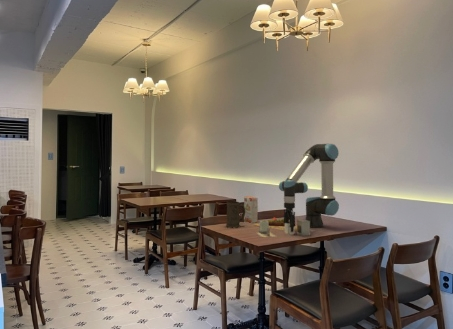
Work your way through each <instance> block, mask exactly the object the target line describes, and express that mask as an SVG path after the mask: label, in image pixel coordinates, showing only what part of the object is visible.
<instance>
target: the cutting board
mask: <svg viewBox="0 0 453 329" xmlns="http://www.w3.org/2000/svg"><path fill="white" fill-rule="evenodd" d="M267 221H268V222H269V228H272V229H276V230H280V231H285V223H284V218H281V219H280V218H278V219H277V218H276V217H275V216H273V218H272V219H267ZM289 223H290V221H289ZM253 226H254V227H257V226H258V227H257V228H259V223H258V222H257V223H253ZM294 232H297V224H295V226H294Z"/></svg>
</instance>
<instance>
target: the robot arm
mask: <svg viewBox="0 0 453 329" xmlns="http://www.w3.org/2000/svg"><path fill="white" fill-rule="evenodd" d="M338 156H339V149H338V147H337V146H336V144H334V143H317V144H314V145H312V146H311V147H309V148H308V149H307V150H306V151H305V153H304V154H303V157H302V158H301V160H300V161H299V162H298V164H297V165H296V166H295V167H294V169H293V170H292V172H290V174H289V175H288V176H287V178H286V179H285V180H283V181H280V182H279V183H278V184H279V185H278V188H279V190H280V191H281V192H283V202H284V203H283V208H284V209H283V219H284V223H289V222H290V226H289V227H290V234H289V235H291V236H292V235H294V234H295V231H294V226H295V225H296V217H295V216H296V212H295V211H294V209H295V208H296V194H304V193H307V191H308V189H309V186H308V184H307V183H306V182H302V181H301V182H298V181H299V179H300V178H301V177H302V176H303V175H304V174H305V173H306V171H307V170H308V168H309V167H310V166H311V164H313V163H314V162H315V161H317V160H318V161H319V163H320V164H321V165H320V166H321V167H320V168H321V170H320V172H321V195H320V196H311V197H310V196H309V197H307V198H306V199H305V218H304V219H305V220H308V221H310V229H311V228H312V229H313V228H315V229H317V228H323V227H324V220H323V218H322V215H325V216H329V217H330V216H335V215H336V214H337V213H338V211H339V209H340V208H339V207H340V206H339V202H338V201H337V200H336V197H335V195H334V163H336V159H338Z"/></svg>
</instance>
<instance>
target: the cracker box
mask: <svg viewBox="0 0 453 329" xmlns="http://www.w3.org/2000/svg"><path fill="white" fill-rule="evenodd" d="M243 202H244V203H243V204H244V207H245V216H244V218H243V220H244V222H245V221H246V222H248V223H251V222H252V223H251V224H257V223H258V218H259V216H258V206H259V205H258V203H259V202H258V197H255V196H248V195H247V196H244V200H243ZM256 222H257V223H256Z"/></svg>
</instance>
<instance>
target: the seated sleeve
mask: <svg viewBox="0 0 453 329" xmlns="http://www.w3.org/2000/svg"><path fill="white" fill-rule="evenodd" d="M258 228H259V229H258V232H259V233H261V234H267V228H270V227H269V222H268V220H259V227H258Z"/></svg>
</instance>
